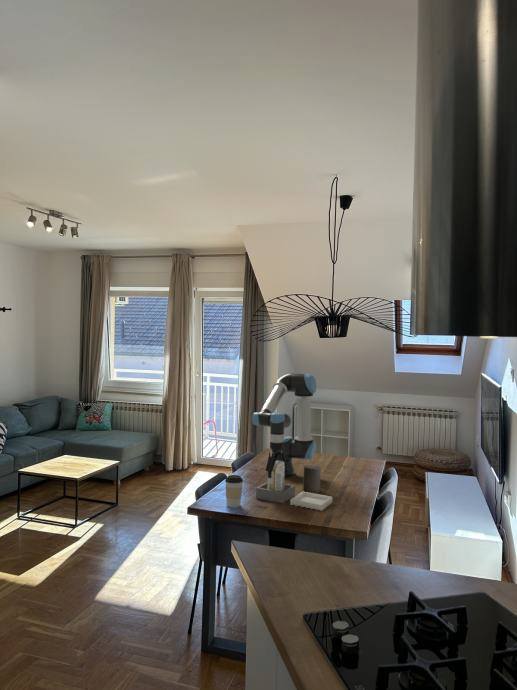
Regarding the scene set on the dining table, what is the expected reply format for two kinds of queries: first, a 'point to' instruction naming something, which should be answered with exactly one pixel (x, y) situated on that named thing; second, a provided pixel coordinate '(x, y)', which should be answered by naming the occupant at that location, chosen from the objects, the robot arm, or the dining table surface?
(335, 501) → the dining table surface
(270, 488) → the juice carton
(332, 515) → the dining table surface
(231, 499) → the coffee cup
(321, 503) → the tray
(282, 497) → the grey open box
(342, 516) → the dining table surface
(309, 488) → the pillar candle
